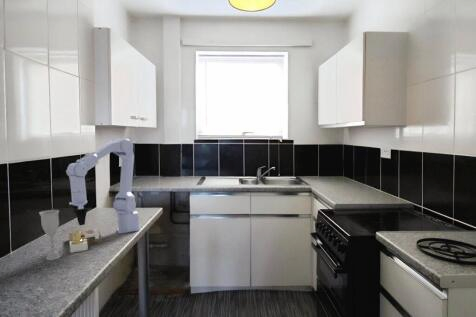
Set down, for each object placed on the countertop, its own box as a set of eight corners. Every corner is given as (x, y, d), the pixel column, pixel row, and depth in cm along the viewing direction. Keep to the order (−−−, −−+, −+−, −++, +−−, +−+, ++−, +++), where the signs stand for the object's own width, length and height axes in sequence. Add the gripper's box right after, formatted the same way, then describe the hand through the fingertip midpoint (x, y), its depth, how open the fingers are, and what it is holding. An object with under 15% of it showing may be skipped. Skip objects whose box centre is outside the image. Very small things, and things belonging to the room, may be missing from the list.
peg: (83, 245, 152) (82, 229, 151) (84, 248, 148) (83, 231, 147) (71, 247, 150) (70, 231, 149) (72, 250, 146) (70, 233, 145)
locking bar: (96, 232, 162) (96, 228, 161) (99, 238, 152) (98, 234, 152) (83, 234, 159) (83, 230, 159) (85, 240, 149) (84, 236, 149)
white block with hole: (86, 245, 153) (86, 238, 153) (87, 249, 148) (87, 242, 147) (70, 248, 150) (69, 241, 150) (70, 252, 145) (69, 245, 145)
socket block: (98, 235, 169) (98, 228, 168) (101, 242, 157) (101, 235, 157) (69, 239, 163) (68, 233, 163) (70, 247, 152) (69, 240, 151)
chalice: (67, 255, 142) (63, 210, 141) (53, 261, 136) (49, 214, 134) (53, 253, 144) (49, 209, 143) (38, 260, 138) (34, 213, 137)
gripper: (67, 190, 157) (70, 220, 159) (68, 195, 145) (71, 228, 146) (85, 188, 161) (87, 218, 162) (87, 192, 148) (90, 225, 149)
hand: (81, 222), depth 154 cm, fingers open, 7 cm apart
